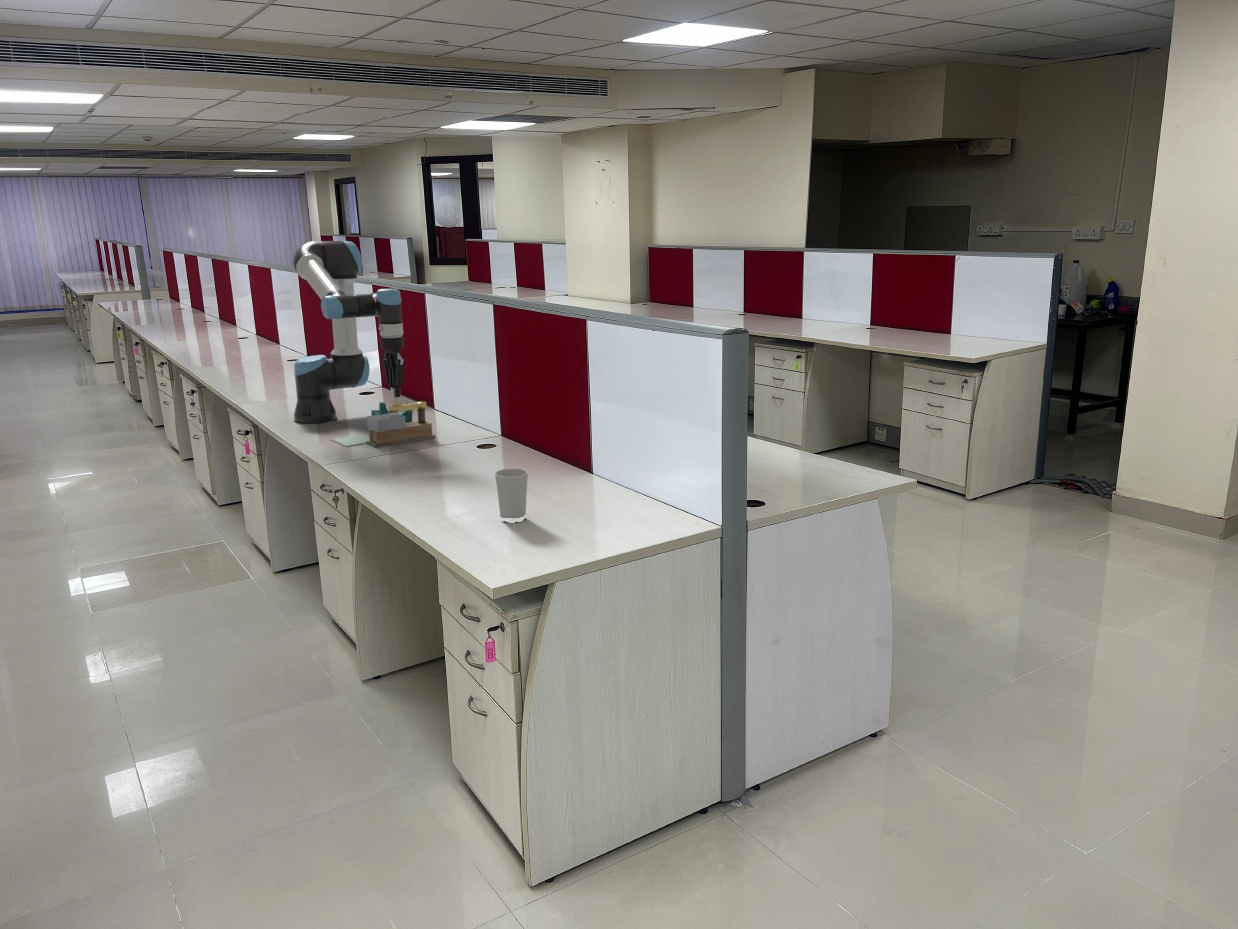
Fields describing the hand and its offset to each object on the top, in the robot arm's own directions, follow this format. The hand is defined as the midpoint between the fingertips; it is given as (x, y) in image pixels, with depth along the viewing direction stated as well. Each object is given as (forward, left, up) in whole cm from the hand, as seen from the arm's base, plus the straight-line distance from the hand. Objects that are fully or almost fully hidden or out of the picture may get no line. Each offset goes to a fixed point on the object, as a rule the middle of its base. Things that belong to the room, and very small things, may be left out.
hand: (396, 406), depth 300 cm
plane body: (+4, -1, -11) cm, 12 cm away
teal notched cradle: (-16, +5, -12) cm, 20 cm away
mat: (-6, -13, -11) cm, 18 cm away
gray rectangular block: (+4, -6, -6) cm, 9 cm away
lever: (+4, +2, -1) cm, 5 cm away
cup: (+98, -18, -11) cm, 100 cm away
